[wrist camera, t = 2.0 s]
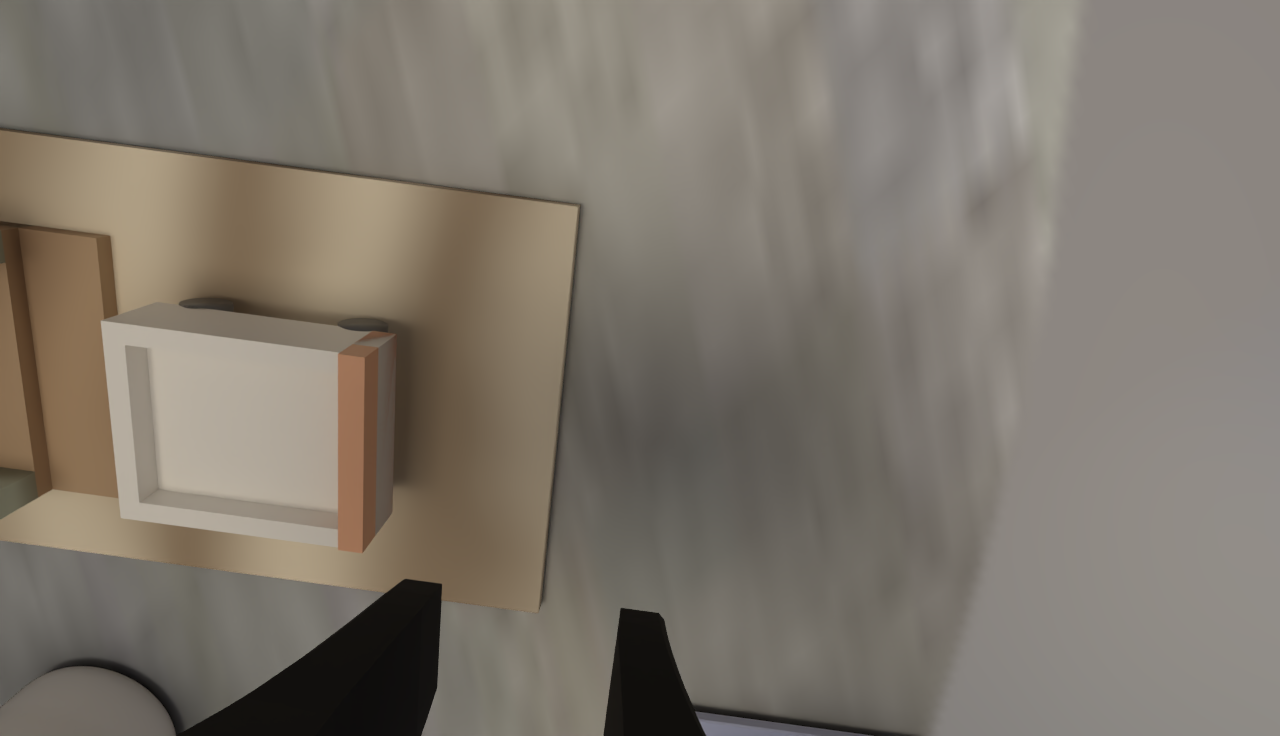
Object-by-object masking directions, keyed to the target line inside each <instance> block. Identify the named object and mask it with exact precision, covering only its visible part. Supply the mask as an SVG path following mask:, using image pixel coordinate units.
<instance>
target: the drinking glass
mask: <svg viewBox="0 0 1280 736" xmlns="http://www.w3.org/2000/svg"><path fill="white" fill-rule="evenodd" d="M0 736H176V732H175V728H174V725H173V722H172V720H171V718H170V716H169V714H168V712H167V711H166V709H165V708H164V706H163V705H162V704H161V702H160V701H159V700H158V699H157V698H156V697H155V696H154V695H153V694H152V693H151V692H150V691H149V690H148V689H146V688H145V687H144V686H142V685H141V684H139V683H138V682H136V681H135V680H133V679H131V678H129V677H127V676H125V675H123V674H120V673H118V672H115V671H112V670H108V669H104V668H99V667H92V666H72V667H65V668H61V669H57V670H54V671H51V672H48V673H46V674H44V675H42V676H40V677H38V678H36V679H35V680H33V681H32V682H30V683H29V684H27V685H26V686H25V687H24V688H22V689H21V690H20V691H19V692H18V693H16V694H15V695H14V696H13V697H12V698H10V699H9V700H8V701H7V702H6V703H5V704H3V705H2V706H1V707H0Z"/></svg>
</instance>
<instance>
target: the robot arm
mask: <svg viewBox="0 0 1280 736" xmlns="http://www.w3.org/2000/svg"><path fill="white" fill-rule="evenodd" d="M441 598H442V584H441V583H433V582H426V581H419V580H411V579H404V580H402V581H401V582H400V583H398V584H397V585H395V586H394V587H393V588H392V589H390V590H389V591H388V592H386V593H385V594H384V595H383V596H381V597H380V598H379V599H378V600H376V601H375V602H374V603H373V604H371V605H370V606H369V607H368V608H366V609H365V610H364V611H363V612H361V613H360V614H359V615H357V616H356V617H355V618H354V619H352V620H351V621H350V622H349V623H347V624H346V625H345V626H343V627H342V628H341V629H339V630H338V631H337V632H335V633H334V634H333V635H331V636H330V637H329V638H327V639H326V640H325V641H323V642H322V643H321V644H319V645H318V646H317V647H315V648H314V649H313V650H311V651H310V652H309V653H307V654H306V655H305V656H303V657H302V658H301V659H299V660H298V661H296V662H295V663H293V664H292V665H290V666H289V667H288V668H286V669H285V670H283V671H282V672H280V673H279V674H277V675H276V676H274V677H273V678H271V679H270V680H268V681H267V682H266V683H264V684H263V685H261V686H260V687H258V688H257V689H255V690H254V691H252V692H251V693H249V694H247V695H246V696H244V697H243V698H241V699H239V700H238V701H236V702H234V703H233V704H231V705H229V706H228V707H226V708H225V709H223V710H221V711H219V712H218V713H216V714H214V715H212V716H210V717H209V718H207V719H205V720H203V721H202V722H200V723H198V724H196V725H195V726H193V727H191V728H189V729H188V730H186V731H184V732H182V733H180V734H178V735H176V736H421V734H422V731H423V728H424V725H425V723H426V720H427V717H428V714H429V711H430V708H431V705H432V702H433V699H434V695H435V692H436V689H437V678H438V658H439V638H440V618H441ZM604 736H872V735H864V734H857V733H850V732H842V731H835V730H828V729H820V728H813V727H806V726H798V725H791V724H784V723H776V722H769V721H762V720H755V719H747V718H740V717H733V716H725V715H718V714H711V713H703V712H696V711H695V710H694V708H693V705H692V703H691V701H690V698H689V696H688V694H687V691H686V689H685V687H684V684H683V681H682V679H681V676H680V674H679V671H678V668H677V665H676V662H675V659H674V656H673V653H672V650H671V647H670V643H669V640H668V636H667V632H666V627H665V621H664V619H663V618H662V617H661V615H660V614H659V613H654V612H647V611H639V610H632V609H625V608H621V611H620V618H619V625H618V632H617V640H616V647H615V654H614V661H613V669H612V676H611V683H610V690H609V698H608V705H607V712H606V720H605V728H604Z"/></svg>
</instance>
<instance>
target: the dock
mask: <svg viewBox="0 0 1280 736" xmlns="http://www.w3.org/2000/svg"><path fill="white" fill-rule="evenodd" d="M579 215H580V205H578V204H571V203H563V202H555V201H548V200H540V199H533V198H525V197H518V196H510V195H503V194H495V193H488V192H480V191H472V190H465V189H457V188H450V187H442V186H435V185H427V184H420V183H412V182H404V181H397V180H389V179H382V178H374V177H367V176H359V175H352V174H344V173H336V172H329V171H321V170H314V169H306V168H299V167H291V166H284V165H276V164H268V163H261V162H253V161H246V160H238V159H231V158H223V157H216V156H208V155H201V154H193V153H185V152H178V151H170V150H163V149H155V148H148V147H140V146H133V145H125V144H117V143H110V142H102V141H95V140H87V139H80V138H72V137H65V136H57V135H49V134H42V133H34V132H27V131H19V130H12V129H4V128H0V540H2V541H10V542H17V543H24V544H32V545H39V546H46V547H54V548H61V549H68V550H76V551H83V552H91V553H98V554H105V555H113V556H120V557H127V558H135V559H142V560H149V561H157V562H164V563H171V564H179V565H186V566H193V567H201V568H208V569H216V570H223V571H230V572H238V573H245V574H252V575H260V576H267V577H274V578H282V579H289V580H296V581H304V582H311V583H318V584H326V585H333V586H341V587H348V588H355V589H363V590H370V591H377V592H385V593H386V592H388V591H389V590H390V589H392V588H393V587H394V586H395V585H397V584H398V583H400V582H401V581H402V580H404V579H411V580H419V581H426V582H433V583H441V584H442V598H441V600H444V601H451V602H458V603H466V604H473V605H480V606H488V607H495V608H502V609H510V610H517V611H524V612H532V613H539V609H540V606H541V600H542V590H543V580H544V570H545V560H546V550H547V540H548V529H549V519H550V509H551V499H552V489H553V479H554V469H555V458H556V448H557V438H558V428H559V418H560V408H561V398H562V388H563V377H564V367H565V357H566V347H567V337H568V327H569V317H570V306H571V296H572V286H573V276H574V266H575V256H576V246H577V235H578V225H579ZM192 298H221V299H226V300H229V301H232V302H233V304H234V312H236V313H244V314H251V315H259V316H266V317H274V318H281V319H289V320H296V321H304V322H311V323H319V324H326V325H334V326H338V322H340V321H342V320H345V319H351V318H370V319H377V320H381V321H384V322H386V323H387V324H388V333H393V334H397V349H396V389H395V428H394V468H393V508H392V514H391V516H390V517H389V518H388V520H387V521H386V522H385V524H384V525H383V526H382V528H381V529H380V530H379V532H378V533H377V534H376V536H375V537H374V538H373V540H372V541H371V543H370V544H369V545H368V547H367V548H366V549H365V551H364V552H363V553H356V552H349V551H341V550H338V548H337V547H330V546H322V545H315V544H308V543H300V542H293V541H285V540H278V539H271V538H263V537H256V536H249V535H241V534H234V533H226V532H219V531H212V530H204V529H197V528H190V527H182V526H175V525H167V524H160V523H153V522H145V521H138V520H131V519H123V518H121V516H120V506H119V497H118V487H117V477H116V467H115V457H114V447H113V438H112V428H111V418H110V408H109V398H108V388H107V379H106V369H105V359H104V349H103V339H102V329H101V320H104V319H107V318H110V317H113V316H116V315H119V314H122V313H125V312H128V311H131V310H134V309H137V308H140V307H143V306H146V305H149V304H152V303H155V302H162V303H169V304H177V305H179V302H181V301H183V300H186V299H192Z"/></svg>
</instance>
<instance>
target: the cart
mask: <svg viewBox="0 0 1280 736" xmlns="http://www.w3.org/2000/svg"><path fill="white" fill-rule="evenodd" d="M101 329H102V339H103V349H104V359H105V369H106V379H107V388H108V398H109V408H110V418H111V428H112V438H113V447H114V457H115V467H116V477H117V487H118V497H119V506H120V516H121V518H123V519H131V520H138V521H145V522H153V523H160V524H167V525H175V526H182V527H190V528H197V529H204V530H212V531H219V532H226V533H234V534H241V535H249V536H256V537H263V538H271V539H278V540H285V541H293V542H300V543H308V544H315V545H322V546H330V547H337V548H338V550H341V551H349V552H356V553H363V552H364V551H365V549H366V548H367V547H368V545H369V544H370V543H371V541H372V540H373V538H374V537H375V536H376V534H377V533H378V532H379V530H380V529H381V528H382V526H383V525H384V524H385V522H386V521H387V520H388V518H389V517H390V516H391V514H392V508H393V468H394V428H395V389H396V349H397V334H393V333H388V324H387V323H386V322H384V321H381V320H377V319H370V318H351V319H345V320H342V321H340V322H338V326H334V325H326V324H319V323H311V322H304V321H296V320H289V319H281V318H274V317H266V316H259V315H251V314H244V313H236V312H234V304H233V302H232V301H229V300H226V299H221V298H192V299H186V300H183V301H181V302H179V305H177V304H169V303H162V302H155V303H152V304H149V305H146V306H143V307H140V308H137V309H134V310H131V311H128V312H125V313H122V314H119V315H116V316H113V317H110V318H107V319H104V320H101Z"/></svg>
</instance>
